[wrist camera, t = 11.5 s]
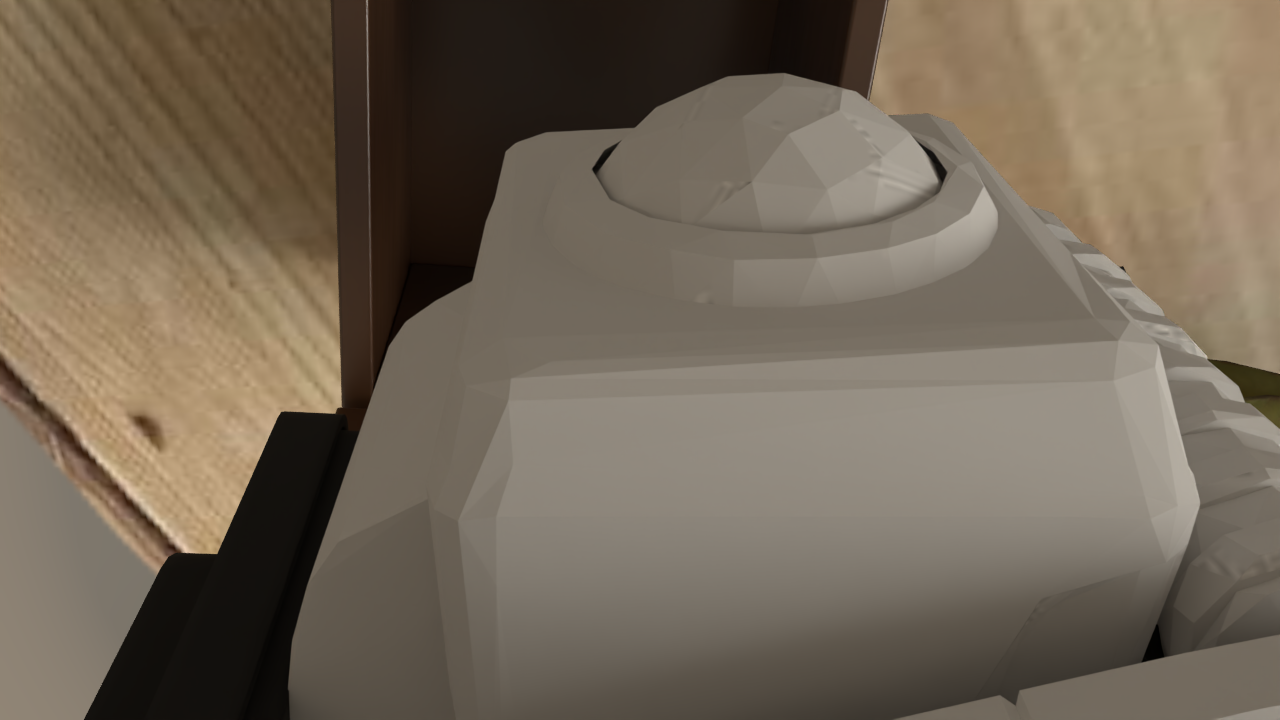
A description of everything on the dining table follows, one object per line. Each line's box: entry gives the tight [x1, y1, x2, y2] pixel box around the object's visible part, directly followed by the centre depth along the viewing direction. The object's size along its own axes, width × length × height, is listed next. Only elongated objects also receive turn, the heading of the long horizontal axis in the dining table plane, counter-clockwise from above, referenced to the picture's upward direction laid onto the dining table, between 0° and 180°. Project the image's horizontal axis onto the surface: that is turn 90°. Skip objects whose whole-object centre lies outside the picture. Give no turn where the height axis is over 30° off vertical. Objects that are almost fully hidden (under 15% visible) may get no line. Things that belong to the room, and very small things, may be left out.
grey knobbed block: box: [288, 73, 1280, 720], centre depth 9 cm, size 6×7×10 cm
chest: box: [331, 0, 888, 409], centre depth 25 cm, size 12×10×8 cm
